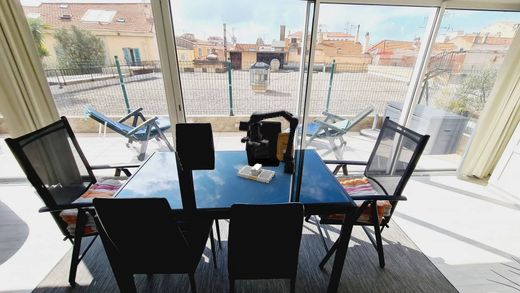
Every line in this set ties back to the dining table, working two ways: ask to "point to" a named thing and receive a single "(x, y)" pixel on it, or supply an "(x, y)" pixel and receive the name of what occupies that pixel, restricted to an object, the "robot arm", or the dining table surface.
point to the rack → (263, 176)
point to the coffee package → (283, 145)
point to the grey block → (256, 170)
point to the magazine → (262, 152)
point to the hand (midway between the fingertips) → (254, 153)
